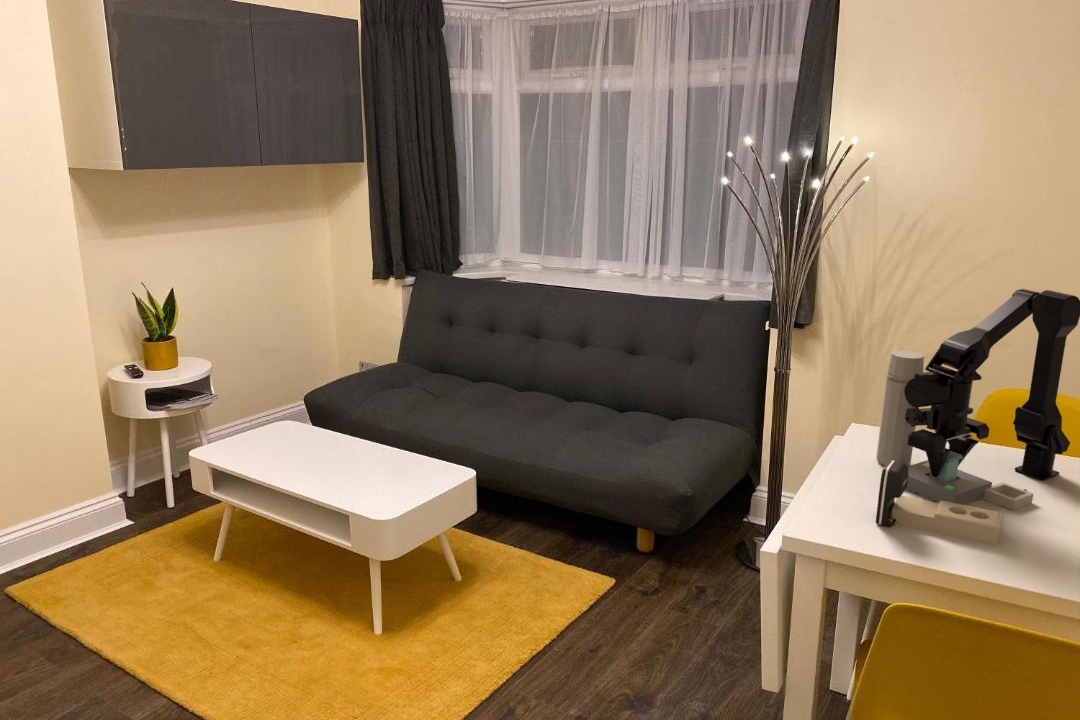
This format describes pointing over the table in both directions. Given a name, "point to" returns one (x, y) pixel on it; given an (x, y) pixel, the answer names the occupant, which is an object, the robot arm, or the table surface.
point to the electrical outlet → (949, 519)
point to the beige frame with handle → (1013, 503)
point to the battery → (890, 490)
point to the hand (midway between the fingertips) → (942, 473)
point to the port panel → (946, 485)
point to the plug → (949, 468)
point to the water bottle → (897, 408)
